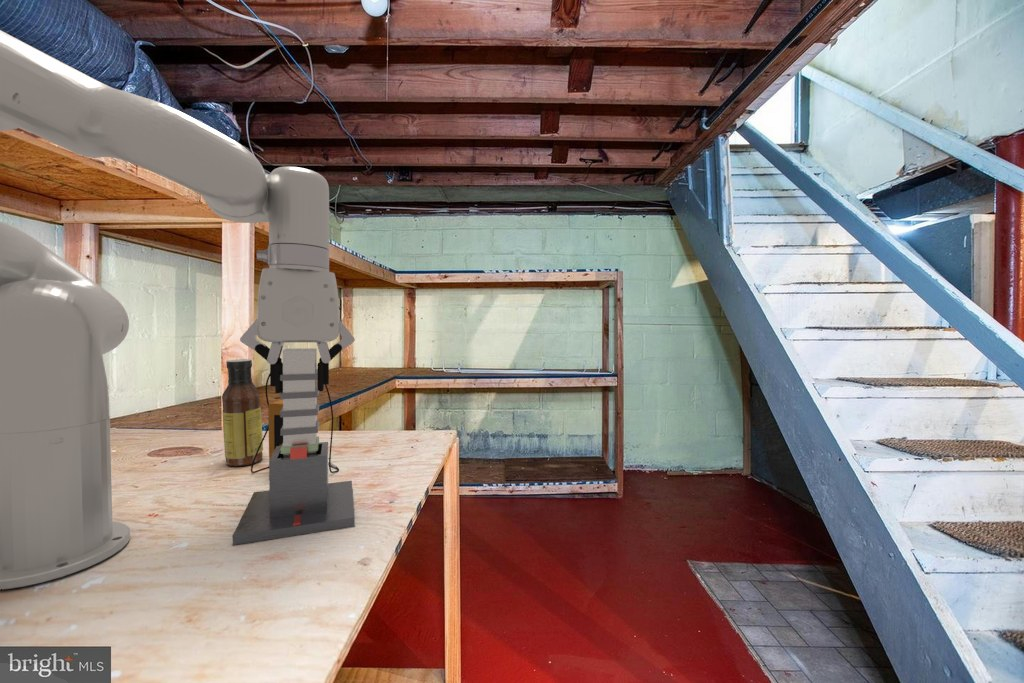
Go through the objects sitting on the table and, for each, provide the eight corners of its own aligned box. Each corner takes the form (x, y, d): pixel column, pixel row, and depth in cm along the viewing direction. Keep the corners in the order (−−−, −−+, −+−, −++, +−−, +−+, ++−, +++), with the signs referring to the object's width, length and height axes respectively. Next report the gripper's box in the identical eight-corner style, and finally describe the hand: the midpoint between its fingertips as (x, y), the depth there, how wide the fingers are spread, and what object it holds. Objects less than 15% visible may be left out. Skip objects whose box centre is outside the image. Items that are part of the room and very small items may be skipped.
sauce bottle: (261, 455, 85) (260, 357, 84) (265, 463, 80) (264, 360, 79) (222, 460, 81) (220, 359, 80) (223, 470, 76) (222, 361, 75)
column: (280, 467, 57) (279, 350, 56) (284, 457, 61) (284, 348, 61) (317, 463, 59) (317, 350, 58) (319, 454, 63) (319, 348, 62)
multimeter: (354, 461, 83) (354, 360, 82) (327, 480, 73) (326, 365, 72) (284, 457, 84) (283, 358, 83) (248, 475, 74) (247, 363, 73)
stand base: (232, 545, 51) (231, 461, 51) (254, 499, 64) (253, 432, 64) (354, 526, 57) (354, 450, 56) (351, 487, 69) (351, 425, 69)
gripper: (221, 253, 52) (223, 398, 53) (365, 262, 58) (365, 392, 59) (235, 260, 59) (236, 389, 60) (362, 268, 65) (362, 384, 66)
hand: (300, 389), depth 60 cm, fingers closed on column, 4 cm apart
